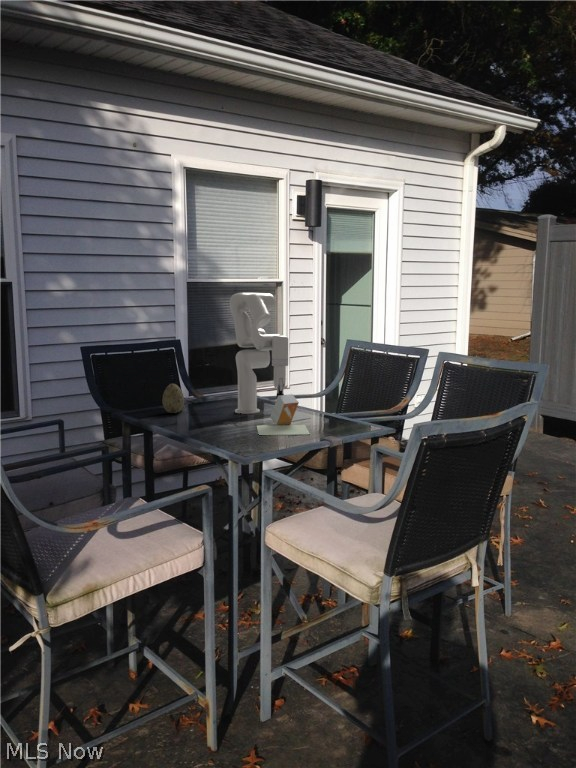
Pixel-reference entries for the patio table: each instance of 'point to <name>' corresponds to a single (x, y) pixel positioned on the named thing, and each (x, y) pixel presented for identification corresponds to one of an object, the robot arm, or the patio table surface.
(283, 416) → the small box
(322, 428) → the patio table surface
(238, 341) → the robot arm
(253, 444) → the patio table surface
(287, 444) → the patio table surface
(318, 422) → the patio table surface
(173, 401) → the decorative egg
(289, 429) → the mat
